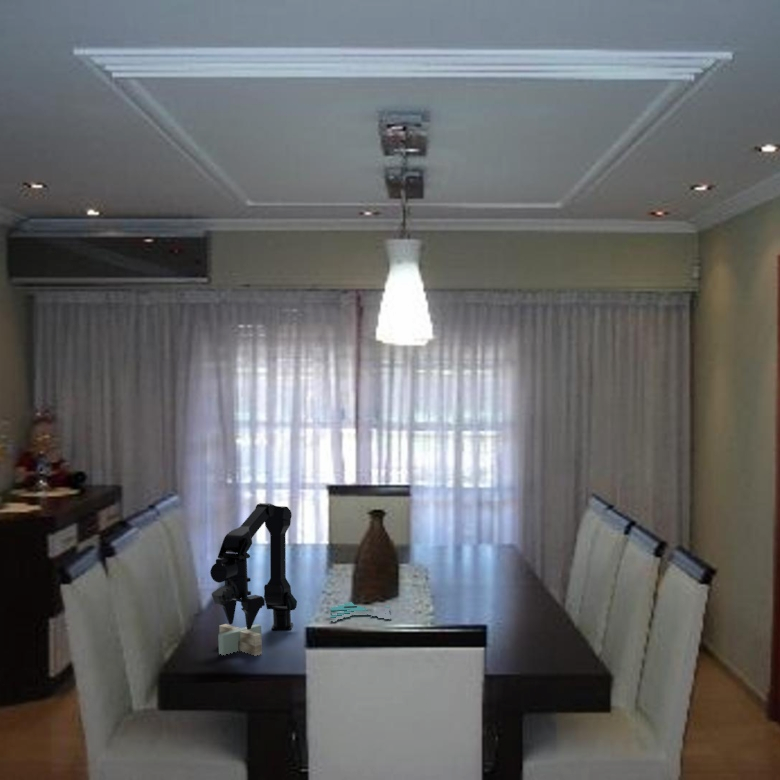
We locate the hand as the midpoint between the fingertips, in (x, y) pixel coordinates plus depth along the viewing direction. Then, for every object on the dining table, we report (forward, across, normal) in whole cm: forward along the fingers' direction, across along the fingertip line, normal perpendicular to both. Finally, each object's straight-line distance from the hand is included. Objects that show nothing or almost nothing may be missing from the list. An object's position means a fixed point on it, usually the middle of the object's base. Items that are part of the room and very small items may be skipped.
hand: (239, 626), depth 293 cm
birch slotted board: (+7, 0, 0) cm, 7 cm away
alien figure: (+8, -2, +52) cm, 52 cm away
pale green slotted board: (+7, 0, 0) cm, 7 cm away
